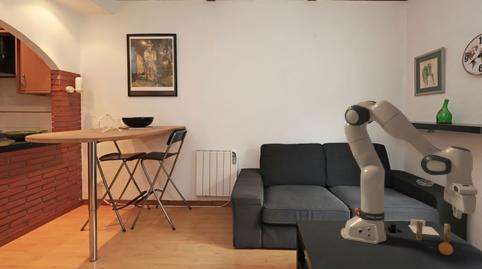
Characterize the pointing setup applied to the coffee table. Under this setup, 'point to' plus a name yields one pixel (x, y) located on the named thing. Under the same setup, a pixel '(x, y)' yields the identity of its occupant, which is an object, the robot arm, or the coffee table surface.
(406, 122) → the robot arm
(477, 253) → the coffee table surface
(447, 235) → the post
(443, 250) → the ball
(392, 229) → the dark slotted block
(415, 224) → the wall
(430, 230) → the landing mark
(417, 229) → the post
